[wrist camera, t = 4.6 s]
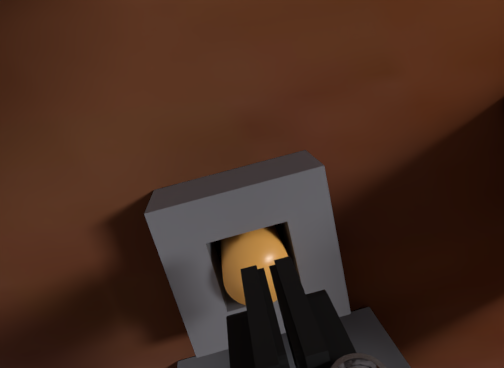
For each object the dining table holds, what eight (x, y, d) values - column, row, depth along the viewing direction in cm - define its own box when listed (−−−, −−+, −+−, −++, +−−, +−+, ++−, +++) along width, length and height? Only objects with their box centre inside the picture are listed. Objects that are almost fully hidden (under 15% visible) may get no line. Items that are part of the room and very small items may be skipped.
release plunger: (213, 221, 18) (214, 255, 15) (270, 205, 18) (285, 236, 15) (228, 271, 19) (232, 314, 16) (283, 256, 19) (298, 295, 16)
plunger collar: (153, 190, 18) (143, 213, 15) (305, 149, 18) (324, 165, 15) (197, 316, 20) (196, 357, 17) (330, 279, 20) (351, 313, 18)
